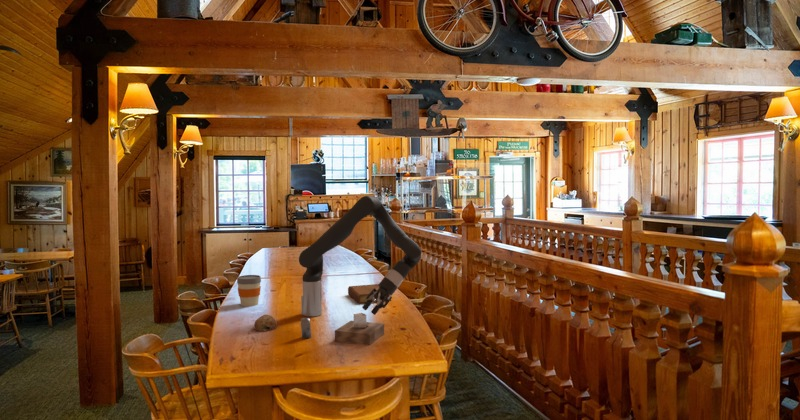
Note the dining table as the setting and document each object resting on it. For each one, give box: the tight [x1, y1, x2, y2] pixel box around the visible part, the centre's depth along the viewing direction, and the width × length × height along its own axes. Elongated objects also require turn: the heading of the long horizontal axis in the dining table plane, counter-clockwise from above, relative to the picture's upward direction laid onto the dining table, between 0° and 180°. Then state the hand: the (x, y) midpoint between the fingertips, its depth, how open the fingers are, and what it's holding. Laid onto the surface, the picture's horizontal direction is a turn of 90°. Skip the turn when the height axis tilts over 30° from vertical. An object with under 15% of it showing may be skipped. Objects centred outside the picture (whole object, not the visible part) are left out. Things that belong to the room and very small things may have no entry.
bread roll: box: [253, 314, 278, 332], centre depth 237 cm, size 10×10×8 cm
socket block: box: [334, 320, 385, 346], centre depth 222 cm, size 16×16×4 cm
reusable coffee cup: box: [236, 274, 262, 307], centre depth 281 cm, size 13×13×15 cm
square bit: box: [353, 312, 367, 330], centre depth 222 cm, size 4×4×10 cm
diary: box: [347, 283, 392, 305], centre depth 295 cm, size 23×19×6 cm
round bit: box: [300, 317, 312, 340], centre depth 222 cm, size 4×4×8 cm
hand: (368, 311), depth 223 cm, fingers open, 8 cm apart
